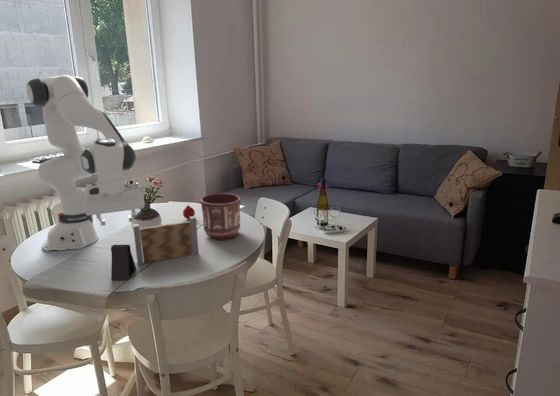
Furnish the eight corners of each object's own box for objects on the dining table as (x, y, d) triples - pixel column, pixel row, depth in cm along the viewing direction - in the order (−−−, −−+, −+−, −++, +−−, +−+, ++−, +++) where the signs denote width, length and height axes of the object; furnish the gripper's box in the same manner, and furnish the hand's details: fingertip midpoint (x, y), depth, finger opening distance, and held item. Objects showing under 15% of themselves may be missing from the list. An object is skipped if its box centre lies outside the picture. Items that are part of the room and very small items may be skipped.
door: (144, 264, 166) (140, 231, 162) (143, 261, 169) (139, 228, 165) (193, 256, 173) (191, 223, 169) (192, 252, 176) (189, 221, 172)
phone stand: (127, 280, 154) (123, 250, 151) (111, 280, 154) (106, 250, 151) (136, 269, 163) (132, 240, 159) (121, 269, 163) (117, 240, 160)
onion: (196, 217, 219) (194, 203, 217) (194, 221, 213) (193, 206, 211) (184, 218, 219) (183, 203, 216) (182, 222, 213) (181, 206, 211)
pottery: (206, 245, 184) (203, 205, 179) (200, 231, 200) (197, 194, 195) (245, 240, 189) (244, 201, 184) (236, 227, 205) (235, 191, 200)
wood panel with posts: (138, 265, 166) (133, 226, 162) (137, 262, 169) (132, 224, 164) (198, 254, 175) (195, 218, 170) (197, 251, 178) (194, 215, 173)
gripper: (142, 180, 155) (146, 216, 159) (81, 187, 148) (87, 224, 152) (143, 184, 149) (148, 221, 153) (80, 191, 142) (86, 230, 146)
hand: (117, 223), depth 152 cm, fingers open, 8 cm apart
